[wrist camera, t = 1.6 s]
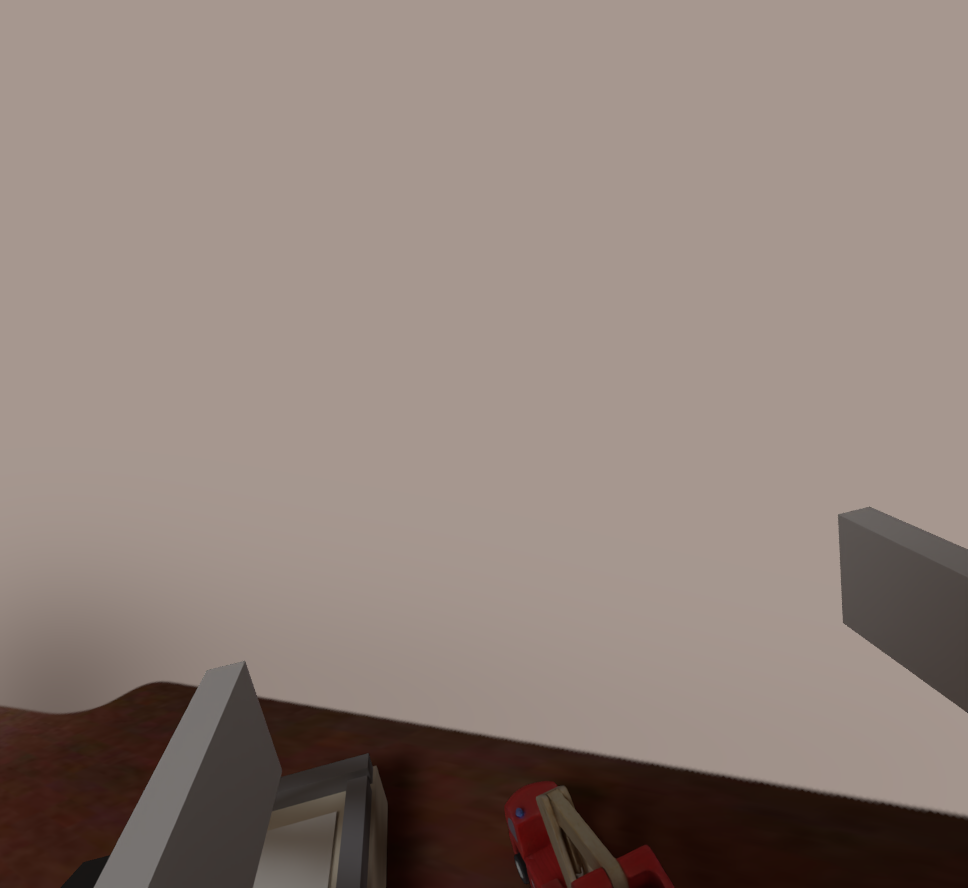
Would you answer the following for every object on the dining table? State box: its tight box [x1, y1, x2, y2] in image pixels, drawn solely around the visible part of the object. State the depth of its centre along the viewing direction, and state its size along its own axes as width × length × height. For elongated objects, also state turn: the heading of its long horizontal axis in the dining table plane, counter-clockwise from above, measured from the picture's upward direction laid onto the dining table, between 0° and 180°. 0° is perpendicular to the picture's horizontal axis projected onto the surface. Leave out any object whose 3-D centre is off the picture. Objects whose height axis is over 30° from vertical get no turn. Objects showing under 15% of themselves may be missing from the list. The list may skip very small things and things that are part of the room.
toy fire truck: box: [505, 781, 675, 888], centre depth 27 cm, size 3×14×10 cm, turn 21°
